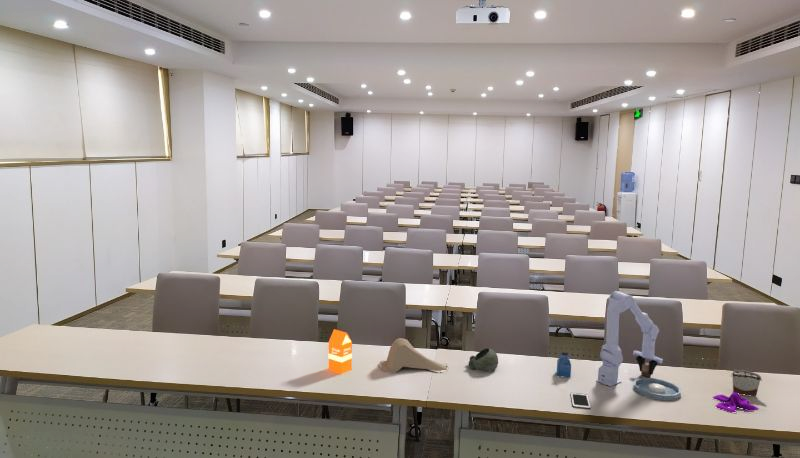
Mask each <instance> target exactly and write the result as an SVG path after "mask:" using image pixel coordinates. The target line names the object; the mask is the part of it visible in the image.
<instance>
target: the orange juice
mask: <svg viewBox="0 0 800 458" xmlns="http://www.w3.org/2000/svg"><path fill="white" fill-rule="evenodd" d="M352 360H353V341H352V340H351V338H350V336H349V334H348V333H347V332H345V331H342V330H338V329H335V328H334V329H333V331H332V333H331V335H330V337H329V340H328V371H331V372H334V373H336V374H340V375H343V374H345V373H347V372H349V371H352V369H353V368H352V367H353V366H352V365H353V364H352V363H353V361H352Z"/></svg>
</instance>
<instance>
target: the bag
mask: <svg viewBox="0 0 800 458" xmlns="http://www.w3.org/2000/svg"><path fill="white" fill-rule="evenodd" d="M439 363H440V362H437V361H435V360H433V359H431V358H428V357H426V356H425V355H424V354H422V353H420V352H419V351H418V350H417V349H415V347H414V346H413V345H412V344H411V343H410V341H409V340H408V339H406V338H401V337H398V338H397V339H395V340H394V341H393V342H392V344H391V345H390V347H389V351H388V354H387V358H386V360H380V361H379V365H380V369H381V371H382V372H383V371H385V372H386V373H390V374H396V373H398V371H400V370H401V369H402V368H404V367H405V368H410V369H411V368H413V369H422V370H424V369H425V370H429V371H431V372H434V373H436V371H441V370H447V367H446V366H447V365H446V366H444V365H442V364H443V363H441V364H439ZM447 371H448V370H447Z"/></svg>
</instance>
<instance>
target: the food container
mask: <svg viewBox="0 0 800 458" xmlns="http://www.w3.org/2000/svg"><path fill="white" fill-rule="evenodd" d="M730 376H731V378H732V393H739V394H745V395H744V396H746V395H751V396H750V397H753V396H756V397H757V394H758V391H759V386H760V382H762V381H763V380H762V376H761V375H760V374H758V373H755V372H753V371H748V370H744V369H738V370H737V369H736V370H733V371H732V373H731V374H730Z"/></svg>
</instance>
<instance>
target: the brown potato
mask: <svg viewBox="0 0 800 458" xmlns="http://www.w3.org/2000/svg"><path fill="white" fill-rule="evenodd" d="M640 376H641V377H642V378H652V375H649V362H645V363H642V372H641V374H640Z"/></svg>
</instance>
